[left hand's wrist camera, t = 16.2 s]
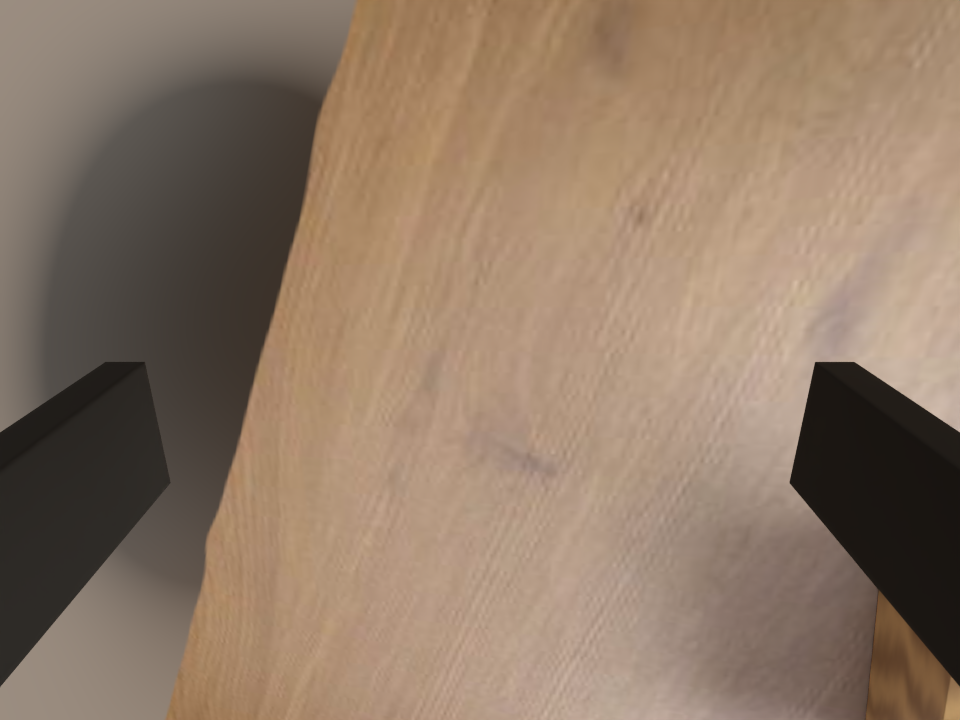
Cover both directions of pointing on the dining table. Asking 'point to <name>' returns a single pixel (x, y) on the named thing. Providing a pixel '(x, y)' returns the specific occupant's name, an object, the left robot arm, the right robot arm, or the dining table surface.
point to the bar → (907, 674)
